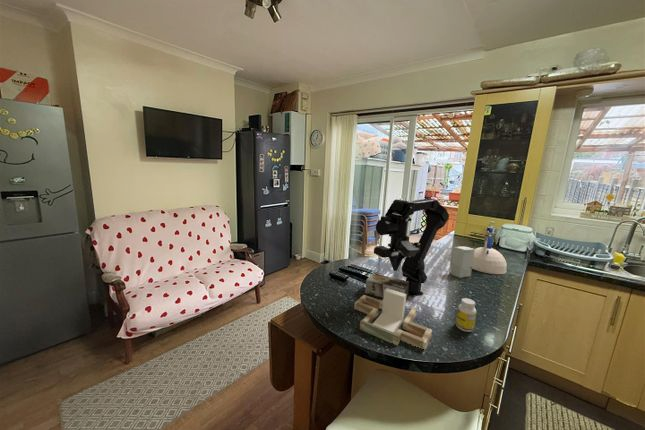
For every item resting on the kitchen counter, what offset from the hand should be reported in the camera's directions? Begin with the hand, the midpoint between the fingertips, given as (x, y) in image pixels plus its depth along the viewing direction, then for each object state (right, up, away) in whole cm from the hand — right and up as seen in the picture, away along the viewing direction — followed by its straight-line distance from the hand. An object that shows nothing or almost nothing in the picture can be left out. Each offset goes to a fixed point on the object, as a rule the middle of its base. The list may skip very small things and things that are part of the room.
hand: (395, 270), depth 101 cm
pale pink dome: (+64, -8, +45) cm, 79 cm away
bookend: (-7, -15, -15) cm, 22 cm away
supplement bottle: (+20, -16, -14) cm, 29 cm away
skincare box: (+43, -9, +32) cm, 54 cm away
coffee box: (-9, -7, +10) cm, 15 cm away
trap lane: (-6, -15, -13) cm, 21 cm away
